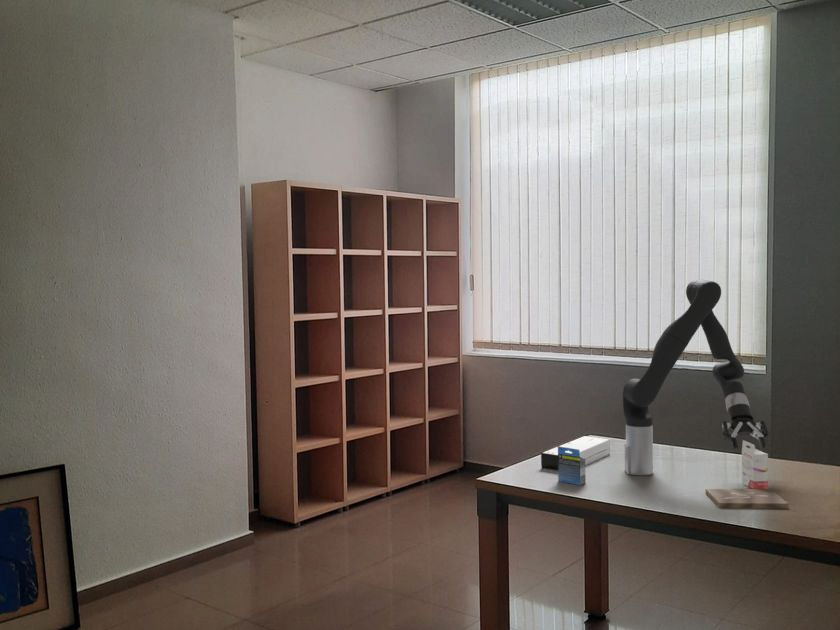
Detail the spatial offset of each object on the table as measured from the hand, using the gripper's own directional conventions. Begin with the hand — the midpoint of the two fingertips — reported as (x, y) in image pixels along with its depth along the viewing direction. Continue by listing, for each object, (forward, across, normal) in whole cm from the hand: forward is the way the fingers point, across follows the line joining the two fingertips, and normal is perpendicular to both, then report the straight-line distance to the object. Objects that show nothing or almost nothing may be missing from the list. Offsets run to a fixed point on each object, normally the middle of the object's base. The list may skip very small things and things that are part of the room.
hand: (749, 448), depth 257 cm
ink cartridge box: (+12, 0, +4) cm, 13 cm away
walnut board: (+23, -8, -7) cm, 25 cm away
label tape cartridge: (+9, -59, +7) cm, 60 cm away
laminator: (-12, -54, +28) cm, 62 cm away
